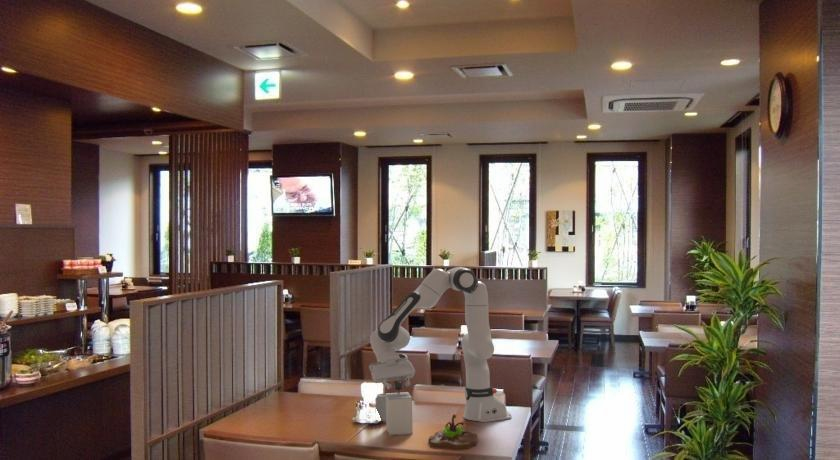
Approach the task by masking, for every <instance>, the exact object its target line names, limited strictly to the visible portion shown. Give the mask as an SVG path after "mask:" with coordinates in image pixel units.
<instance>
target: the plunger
mask: <svg viewBox="0 0 840 460" xmlns="http://www.w3.org/2000/svg"><path fill="white" fill-rule="evenodd" d="M403 383H404V382H403V381H402V380H394V390H396V391H397V392H396V393H397V396H400V392H401V390H403V387H404V384H403Z"/></svg>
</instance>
